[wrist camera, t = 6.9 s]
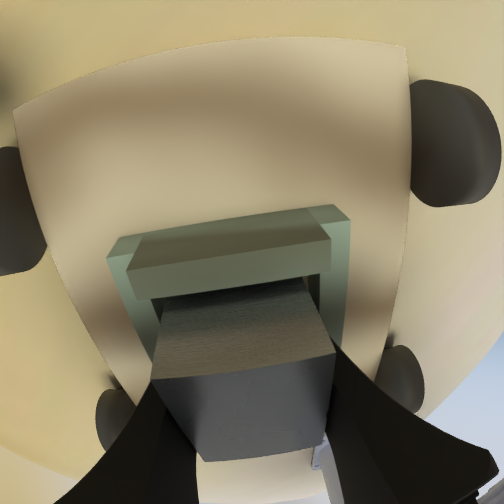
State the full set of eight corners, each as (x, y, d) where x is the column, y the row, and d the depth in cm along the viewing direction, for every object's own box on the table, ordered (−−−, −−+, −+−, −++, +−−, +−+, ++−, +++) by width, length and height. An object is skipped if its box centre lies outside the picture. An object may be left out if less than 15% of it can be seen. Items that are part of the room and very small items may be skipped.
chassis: (380, 385, 18) (403, 434, 14) (141, 422, 17) (135, 475, 13) (419, 55, 8) (497, 51, 4) (3, 121, 8) (-70, 142, 4)
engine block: (293, 347, 12) (322, 444, 8) (204, 360, 12) (204, 461, 8) (287, 247, 10) (336, 352, 6) (173, 264, 10) (149, 379, 6)
